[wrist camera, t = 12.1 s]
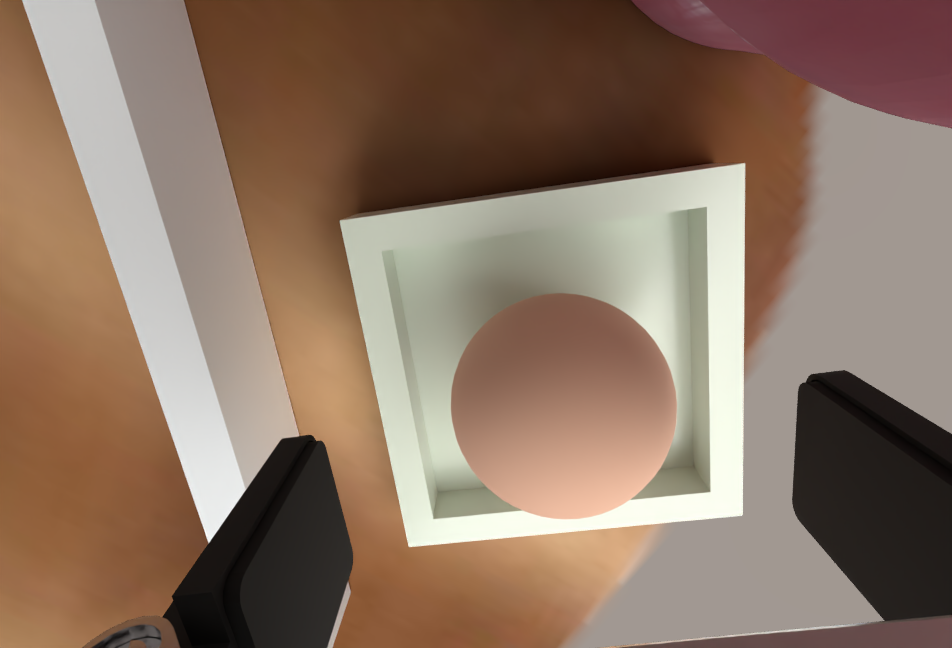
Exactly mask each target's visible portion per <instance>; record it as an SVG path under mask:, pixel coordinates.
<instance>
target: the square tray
mask: <svg viewBox="0 0 952 648" xmlns="http://www.w3.org/2000/svg"><path fill="white" fill-rule="evenodd" d="M340 225H341V230H342V235H343V239H344V244H345V249H346V253H347V258H348V263H349V268H350V272H351V277H352V282H353V286H354V291H355V296H356V301H357V305H358V310H359V315H360V319H361V324H362V329H363V333H364V338H365V343H366V348H367V352H368V357H369V362H370V366H371V371H372V376H373V381H374V385H375V390H376V395H377V399H378V404H379V409H380V413H381V418H382V423H383V428H384V432H385V437H386V442H387V446H388V451H389V456H390V461H391V465H392V470H393V475H394V479H395V484H396V489H397V493H398V498H399V503H400V508H401V512H402V517H403V522H404V526H405V531H406V536H407V541H408V545H409V547H414V546H425V545H435V544H446V543H457V542H467V541H478V540H488V539H499V538H510V537H520V536H531V535H541V534H552V533H563V532H573V531H584V530H594V529H605V528H616V527H626V526H637V525H648V524H658V523H669V522H679V521H689V520H701V519H711V518H722V517H732V516H742V514H743V389H744V252H745V163H711V164H704V165H697V166H690V167H683V168H676V169H669V170H662V171H655V172H648V173H641V174H634V175H627V176H620V177H613V178H606V179H599V180H591V181H584V182H577V183H570V184H563V185H556V186H549V187H542V188H535V189H528V190H521V191H514V192H507V193H500V194H493V195H486V196H479V197H472V198H465V199H458V200H451V201H444V202H437V203H430V204H423V205H416V206H409V207H401V208H394V209H387V210H380V211H373V212H366V213H359V214H355V215H353V216H350V217H348V218H345V219H342V220H340ZM555 293H567V294H577V295H583V296H588V297H592V298H595V299H598V300H601V301H604V302H606V303H608V304H610V305H612V306H615V307H617V308H619V309H620V310H622V311H623V312H625V313H626V314H628V315H629V316H630V317H632V318H633V319H634V320H635V321H636V322H637V323H639V324H640V325H641V326H642V327H643V328H644V329H645V330H646V331H647V332H648V333H649V335H650V336H651V337H652V338H653V339H654V341H655V342H656V344H657V345H658V347H659V349H660V350H661V352H662V354H663V355H664V357H665V359H666V361H667V363H668V366H669V368H670V370H671V374H672V378H673V382H674V386H675V390H676V398H677V418H676V428H675V433H674V438H673V440H672V443H671V446H670V449H669V452H668V454H667V456H666V458H665V460H664V462H663V464H662V466H661V468H660V469H659V471H658V472H657V474H656V475H655V476H654V478H653V479H652V480H651V481H650V482H649V483H648V484H647V485H646V486H645V487H644V488H643V489H642V490H641V491H640V492H639V493H638V494H637V495H636V496H634V497H633V498H632V499H630V500H629V501H627V502H626V503H624V504H623V505H621V506H619V507H617V508H615V509H613V510H610V511H608V512H605V513H603V514H599V515H596V516H592V517H587V518H580V519H552V518H547V517H541V516H538V515H534V514H531V513H528V512H525V511H523V510H521V509H518V508H516V507H514V506H512V505H510V504H509V503H507V502H505V501H504V500H502V499H501V498H499V497H498V496H497V495H495V494H494V493H493V492H492V491H491V490H490V489H488V488H487V487H486V486H485V485H484V484H483V483H482V482H481V481H480V480H479V478H478V477H477V476H476V475H475V473H474V472H473V471H472V469H471V468H470V466H469V464H468V463H467V461H466V459H465V457H464V456H463V454H462V452H461V450H460V447H459V445H458V442H457V439H456V435H455V431H454V427H453V423H452V416H451V391H452V384H453V379H454V375H455V372H456V369H457V366H458V363H459V360H460V358H461V356H462V354H463V352H464V350H465V348H466V346H467V345H468V343H469V342H470V340H471V339H472V338H473V336H474V335H475V334H476V333H477V332H478V330H479V329H480V328H481V327H482V326H483V325H484V324H485V323H486V322H487V321H488V320H490V319H491V318H492V317H493V316H494V315H496V314H497V313H499V312H500V311H502V310H503V309H505V308H506V307H508V306H510V305H512V304H515V303H517V302H519V301H521V300H524V299H528V298H531V297H534V296H539V295H544V294H555Z"/></svg>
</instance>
